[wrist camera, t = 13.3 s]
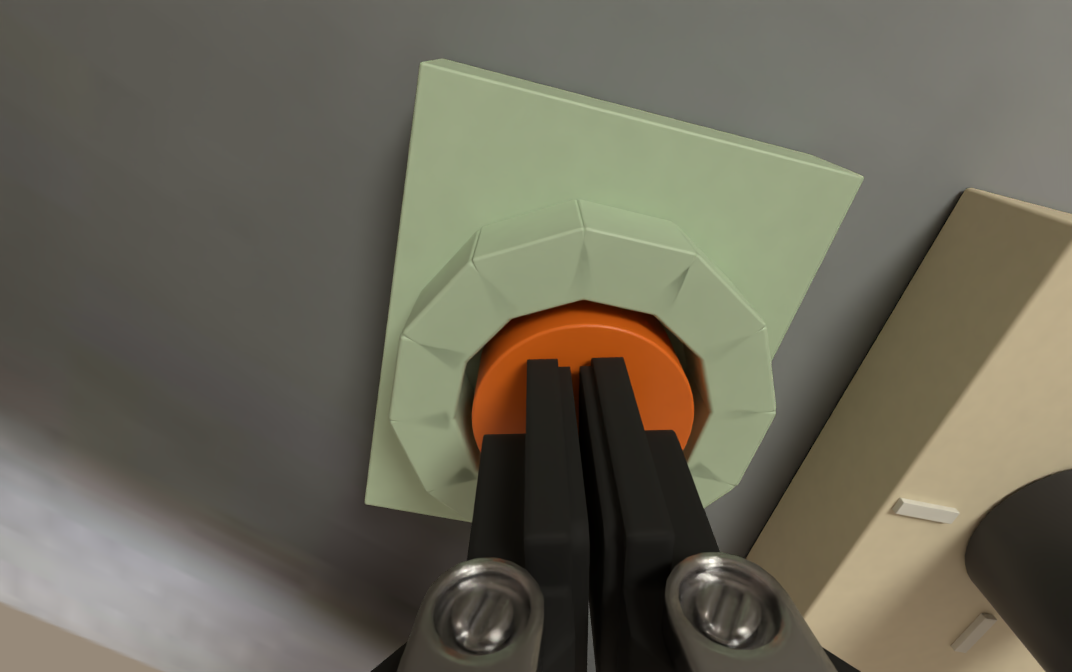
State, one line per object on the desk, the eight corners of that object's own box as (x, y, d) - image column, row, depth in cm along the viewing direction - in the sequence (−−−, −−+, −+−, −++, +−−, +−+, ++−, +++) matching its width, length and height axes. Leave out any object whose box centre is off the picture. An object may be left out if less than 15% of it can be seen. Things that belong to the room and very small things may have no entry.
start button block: (439, 57, 11) (394, 64, 7) (812, 154, 12) (930, 202, 8) (384, 447, 16) (340, 566, 12) (657, 496, 16) (690, 621, 13)
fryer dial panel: (965, 186, 12) (1093, 228, 9) (1303, 275, 13) (1512, 337, 10) (732, 579, 18) (767, 676, 15) (977, 620, 19) (1053, 719, 16)
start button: (501, 263, 10) (495, 301, 9) (702, 308, 11) (730, 352, 9) (464, 430, 12) (454, 487, 11) (637, 463, 13) (652, 522, 11)
